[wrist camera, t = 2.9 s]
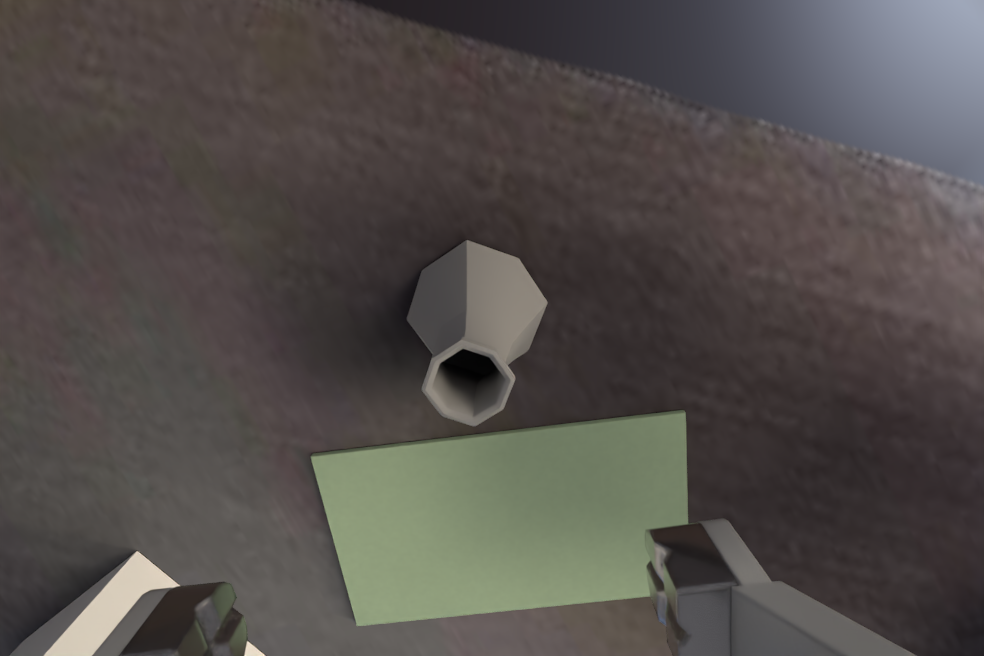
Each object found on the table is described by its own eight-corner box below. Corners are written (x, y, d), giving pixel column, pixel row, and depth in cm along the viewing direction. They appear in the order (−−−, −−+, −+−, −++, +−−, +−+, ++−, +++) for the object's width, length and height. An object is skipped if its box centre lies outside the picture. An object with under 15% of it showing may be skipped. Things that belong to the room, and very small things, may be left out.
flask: (570, 298, 27) (612, 368, 18) (488, 395, 29) (486, 506, 20) (463, 214, 26) (446, 241, 17) (384, 320, 28) (327, 401, 18)
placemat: (683, 409, 29) (686, 412, 29) (687, 587, 33) (689, 592, 33) (312, 453, 30) (310, 456, 30) (358, 621, 34) (356, 626, 34)
